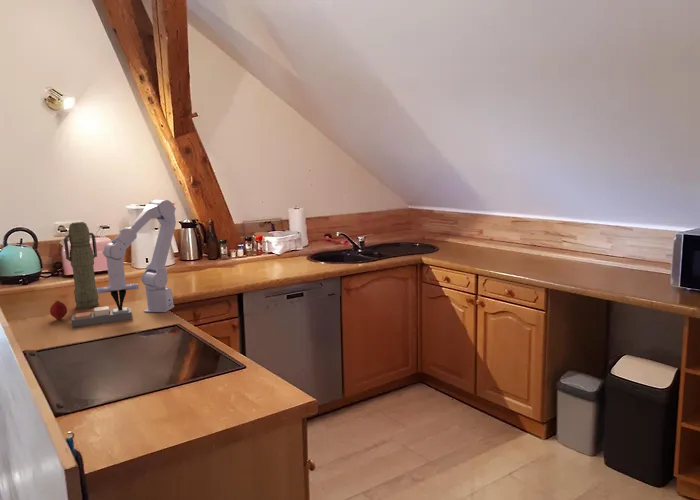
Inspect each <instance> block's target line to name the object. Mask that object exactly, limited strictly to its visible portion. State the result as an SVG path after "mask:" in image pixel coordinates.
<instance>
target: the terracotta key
mask: <svg viewBox="0 0 700 500" xmlns="http://www.w3.org/2000/svg"><path fill="white" fill-rule="evenodd" d="M91 313H92V312H91V311H87V312H79V313H75V314H74V315H75V319H80V318H88V317H91Z"/></svg>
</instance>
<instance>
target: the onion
mask: <svg viewBox="0 0 700 500" xmlns="http://www.w3.org/2000/svg"><path fill="white" fill-rule="evenodd" d="M49 312H50V315H51V317H52V318H54V319H56V320H58V321H60V320H62V319H63V318H64V317H66V315H67V313H68V308H67V306H66V304H65V303H63V302H62V301H60V300H58V299H54V303H53V304H51V306H50V308H49Z"/></svg>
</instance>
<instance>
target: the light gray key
mask: <svg viewBox="0 0 700 500" xmlns="http://www.w3.org/2000/svg"><path fill="white" fill-rule="evenodd" d="M127 308H128V307H127V306H125V307H124V306H122V310H118V307H116V308H113V309H112V310H113V312H114V314H118V313H125V312H128V309H127Z"/></svg>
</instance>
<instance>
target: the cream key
mask: <svg viewBox="0 0 700 500" xmlns="http://www.w3.org/2000/svg"><path fill="white" fill-rule="evenodd" d="M109 310H110V307H109V305H108V306H98V307H93V312H94V314H95V316H103V315H109Z"/></svg>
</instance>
